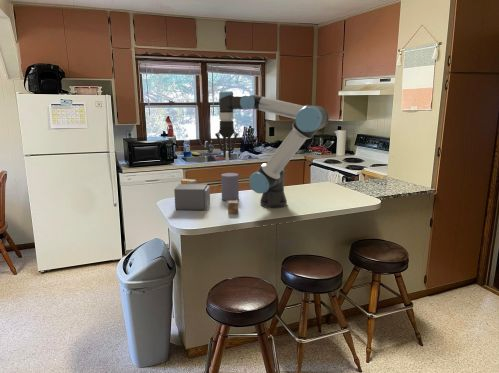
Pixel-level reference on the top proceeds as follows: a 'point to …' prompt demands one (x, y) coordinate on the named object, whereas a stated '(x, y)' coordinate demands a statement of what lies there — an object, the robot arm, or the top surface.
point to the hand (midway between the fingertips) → (227, 163)
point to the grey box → (190, 197)
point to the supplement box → (188, 181)
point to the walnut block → (233, 207)
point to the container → (230, 186)
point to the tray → (207, 197)
